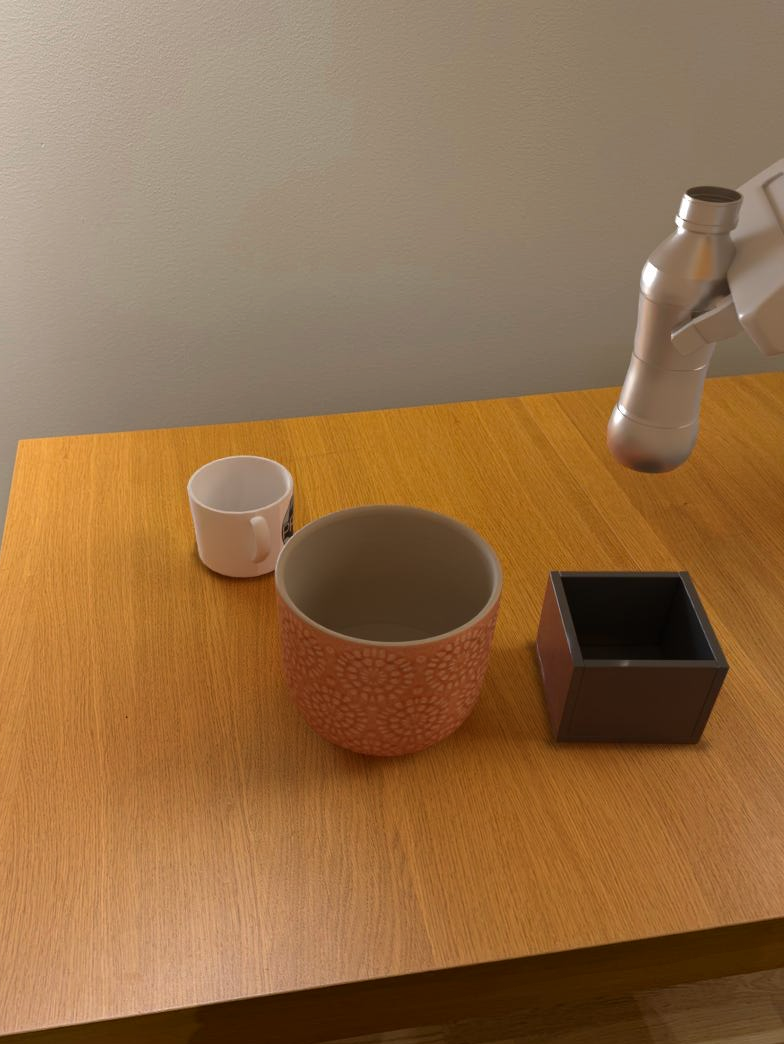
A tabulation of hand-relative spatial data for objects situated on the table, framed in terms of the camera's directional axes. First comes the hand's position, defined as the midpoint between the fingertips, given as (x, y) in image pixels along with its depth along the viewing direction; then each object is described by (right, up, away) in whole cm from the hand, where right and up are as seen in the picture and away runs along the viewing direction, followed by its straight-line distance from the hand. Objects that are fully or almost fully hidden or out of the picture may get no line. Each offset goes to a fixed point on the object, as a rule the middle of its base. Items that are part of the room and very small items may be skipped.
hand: (671, 323), depth 65 cm
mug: (-32, -14, +30) cm, 46 cm away
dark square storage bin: (+1, -27, +14) cm, 31 cm away
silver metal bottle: (+1, -9, +8) cm, 11 cm away
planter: (-19, -29, +14) cm, 37 cm away
